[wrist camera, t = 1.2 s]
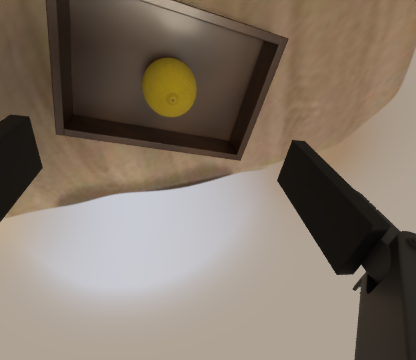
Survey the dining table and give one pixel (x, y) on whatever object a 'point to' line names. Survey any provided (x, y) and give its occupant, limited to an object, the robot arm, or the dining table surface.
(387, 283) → the robot arm
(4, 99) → the dining table surface
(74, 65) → the tray
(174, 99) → the lemon
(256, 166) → the dining table surface
